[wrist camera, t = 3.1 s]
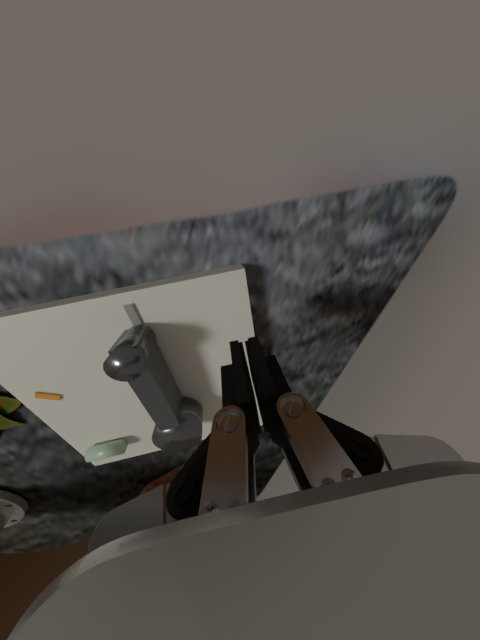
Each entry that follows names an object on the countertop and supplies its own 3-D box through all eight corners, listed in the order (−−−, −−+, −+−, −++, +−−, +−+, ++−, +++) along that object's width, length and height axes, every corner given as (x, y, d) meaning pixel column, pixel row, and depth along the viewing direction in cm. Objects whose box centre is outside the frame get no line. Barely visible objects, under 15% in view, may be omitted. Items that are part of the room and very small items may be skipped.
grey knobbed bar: (207, 419, 23) (206, 456, 19) (167, 428, 23) (159, 468, 19) (165, 318, 16) (152, 347, 12) (107, 330, 16) (75, 364, 12)
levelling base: (102, 449, 26) (88, 480, 23) (-33, 318, 16) (-93, 342, 13) (264, 411, 27) (271, 435, 24) (241, 263, 17) (248, 273, 14)
